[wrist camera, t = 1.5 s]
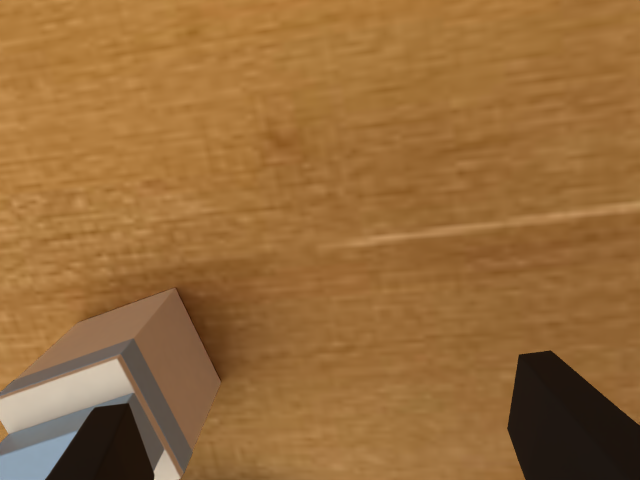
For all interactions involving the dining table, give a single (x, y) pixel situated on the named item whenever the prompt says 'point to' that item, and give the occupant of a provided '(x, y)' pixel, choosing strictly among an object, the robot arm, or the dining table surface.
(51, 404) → the milk carton
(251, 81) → the dining table surface
